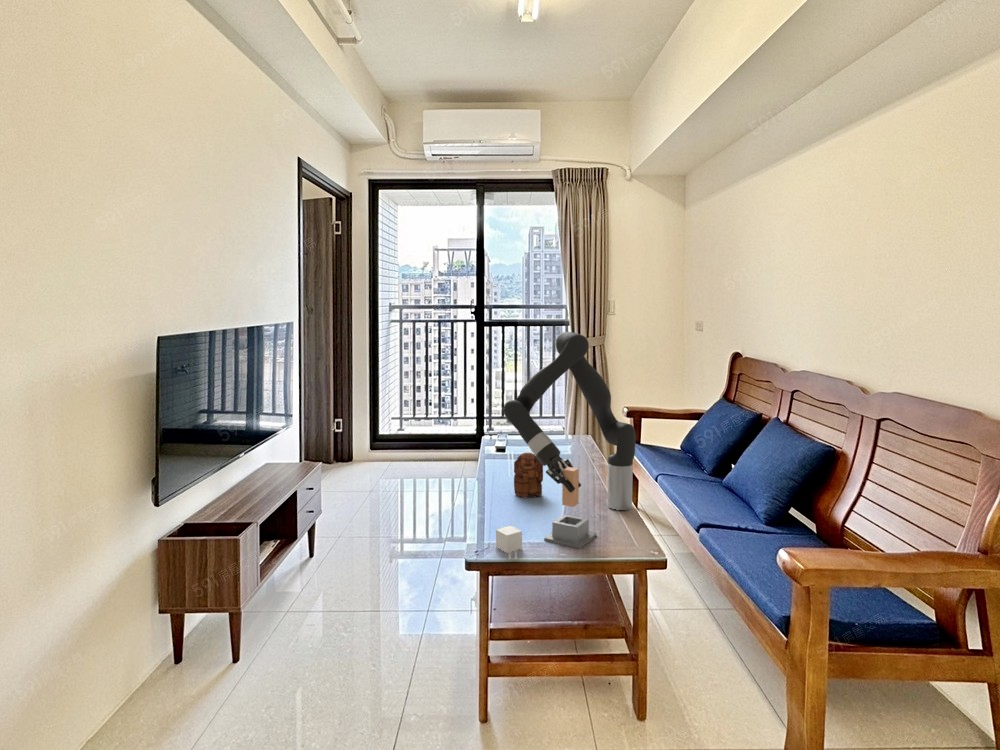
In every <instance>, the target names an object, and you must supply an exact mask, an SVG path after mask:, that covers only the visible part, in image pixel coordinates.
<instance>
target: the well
mask: <svg viewBox="0 0 1000 750" xmlns="http://www.w3.org/2000/svg"><path fill="white" fill-rule="evenodd" d="M589 523H590V519H589V518H585V517H580V516H576V515H575V516H574V515H569V514H566V513H565V514H563V515H562V516H560V517H559V518H556V520H554V521H552V524H551V525H552V528H551V529H552V532H551V533H549V534H547V535H546V536H544V538H543V539H544V542H548V543H552V542H553V544H556V545H557V544H558V545H561V546H566V547H571V548H575V549H579V550H581V549H582V548H583V547H584V546H586V545H588V543H589V542H591V541H592V540H594V538H596V537H597V536H598V535H597V532H596V531H595V532H594V531H590V529H589V528H590V525H589ZM596 535H597V536H596ZM595 536H596V537H595ZM590 540H591V541H590ZM585 544H586V545H585Z"/></svg>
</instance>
